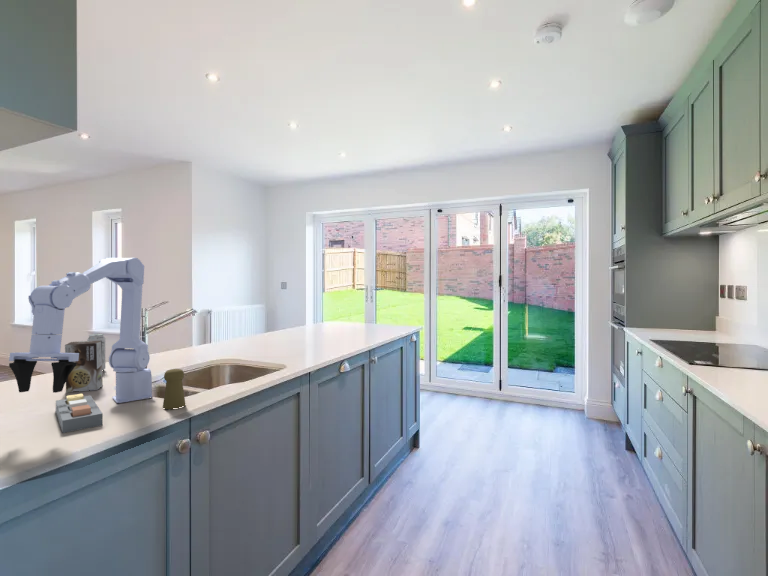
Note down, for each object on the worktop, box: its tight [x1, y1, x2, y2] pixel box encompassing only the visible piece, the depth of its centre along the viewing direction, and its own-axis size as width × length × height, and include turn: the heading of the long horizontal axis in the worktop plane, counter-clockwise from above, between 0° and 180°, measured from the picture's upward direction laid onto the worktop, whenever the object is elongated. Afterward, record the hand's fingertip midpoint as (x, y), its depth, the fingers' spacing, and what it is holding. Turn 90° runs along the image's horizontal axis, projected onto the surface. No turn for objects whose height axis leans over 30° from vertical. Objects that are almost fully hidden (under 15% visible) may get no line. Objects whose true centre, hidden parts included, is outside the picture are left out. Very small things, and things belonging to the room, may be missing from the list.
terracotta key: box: [71, 405, 91, 417], centre depth 103 cm, size 4×4×3 cm
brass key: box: [65, 393, 85, 404], centre depth 113 cm, size 4×4×3 cm
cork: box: [162, 368, 186, 409], centre depth 118 cm, size 6×6×11 cm
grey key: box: [69, 399, 87, 410], centre depth 108 cm, size 4×4×3 cm
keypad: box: [55, 394, 104, 434], centre depth 108 cm, size 8×22×3 cm, turn 43°
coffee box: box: [64, 340, 104, 393], centre depth 137 cm, size 9×6×16 cm
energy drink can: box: [86, 333, 106, 371], centre depth 164 cm, size 6×6×15 cm
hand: (40, 391), depth 96 cm, fingers open, 7 cm apart
